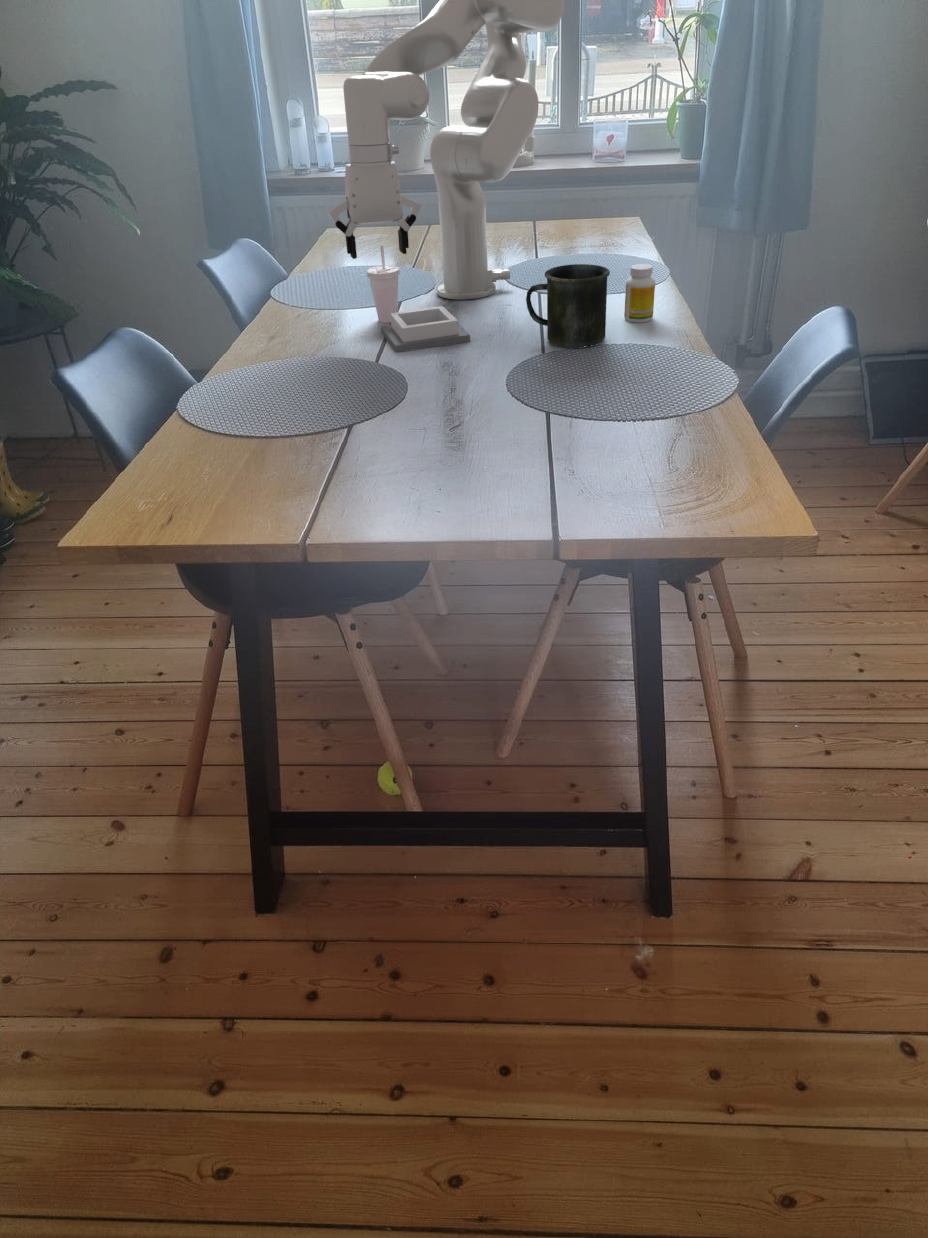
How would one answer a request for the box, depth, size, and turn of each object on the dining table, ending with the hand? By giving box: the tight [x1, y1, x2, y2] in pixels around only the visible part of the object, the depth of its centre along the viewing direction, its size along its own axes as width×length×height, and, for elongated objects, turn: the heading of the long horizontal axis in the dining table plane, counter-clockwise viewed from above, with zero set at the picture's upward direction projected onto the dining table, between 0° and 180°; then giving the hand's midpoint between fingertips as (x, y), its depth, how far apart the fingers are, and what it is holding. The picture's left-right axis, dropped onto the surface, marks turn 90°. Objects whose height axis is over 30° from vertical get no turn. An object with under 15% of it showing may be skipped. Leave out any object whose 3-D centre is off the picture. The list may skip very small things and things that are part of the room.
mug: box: [525, 263, 611, 349], centre depth 160 cm, size 11×15×12 cm
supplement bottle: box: [623, 263, 656, 324], centre depth 169 cm, size 5×5×10 cm
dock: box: [380, 305, 471, 353], centre depth 169 cm, size 14×13×4 cm
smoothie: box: [366, 244, 401, 324], centre depth 176 cm, size 6×6×14 cm
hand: (378, 254), depth 173 cm, fingers open, 9 cm apart
